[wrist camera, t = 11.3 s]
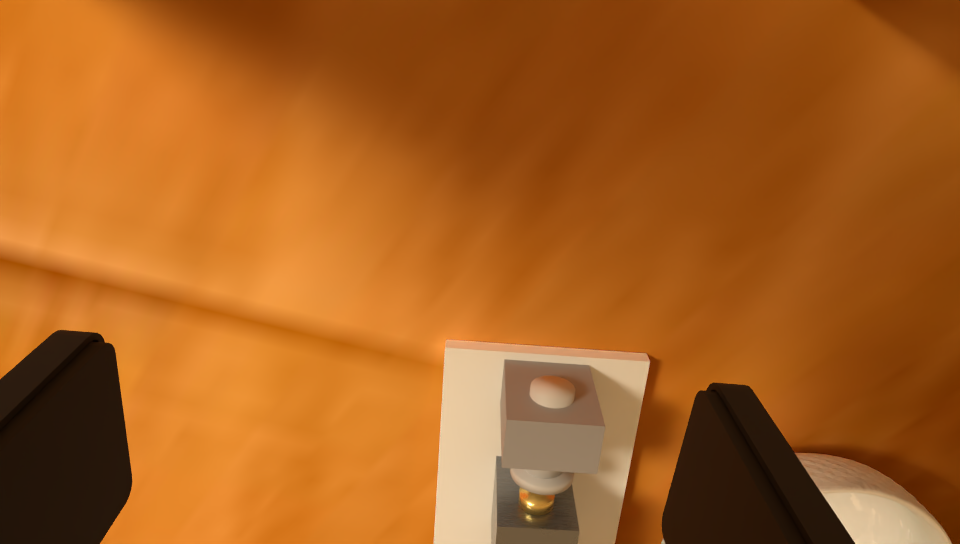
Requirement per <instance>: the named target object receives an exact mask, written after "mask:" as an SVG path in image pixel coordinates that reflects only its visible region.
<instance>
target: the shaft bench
mask: <svg viewBox="0 0 960 544" xmlns="http://www.w3.org/2000/svg"><path fill="white" fill-rule="evenodd" d="M649 366H650V360H649V358H648V355H647V353H635V352H620V351H606V350H591V349H577V348H563V347H548V346H534V345H520V344H505V343H491V342H477V341H462V340H448V339H446V344H445V358H444V375H443V392H442V410H441V427H440V444H439V461H438V479H437V496H436V513H435V530H434V544H491V515H492V502H493V490H494V477H495V465H496V456H501V462H502V468H510V474H511V477H512V479H513V480H514V482H515V483H516V484H517V485H518V486H520V487H521V488H523V489H524V490H526V491H529V492H531V493H535V494H539V495H554V494H559V493H561V492H564V491H565V490H567V489H568V488H569V487H570V486H571V484H572V488H573V494H574V500H575V506H576V512H577V518H578V525H579V531H580V532H579V538H578V544H615V540H616V535H617V530H618V525H619V520H620V515H621V510H622V504H623V499H624V494H625V489H626V484H627V479H628V474H629V468H630V463H631V458H632V453H633V448H634V443H635V438H636V432H637V427H638V422H639V417H640V412H641V407H642V402H643V396H644V391H645V386H646V381H647V376H648V371H649Z"/></svg>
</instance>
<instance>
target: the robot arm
mask: <svg viewBox="0 0 960 544" xmlns="http://www.w3.org/2000/svg"><path fill="white" fill-rule="evenodd" d="M131 487H132V473H131V465H130V458H129V451H128V443H127V436H126V428H125V421H124V413H123V406H122V398H121V391H120V383H119V376H118V368H117V361H116V353H115V349H114V347H113V345H112V344H110V343H105V342H104V339H103V337H102V336H101V335H100V334H98V333H92V332H79V331H67V330H58V331H56V332H54V333H53V334H52V335H51V336H49V337H48V338H47V339H46V340H45V341H44V342H43V343H41V344H40V345H39V346H38V347H37V348H36V349H34V350H33V351H32V352H31V353H30V354H29V355H28V356H26V357H25V358H24V359H23V360H22V361H21V362H20V363H18V364H17V365H16V366H15V367H14V368H13V369H12V370H10V371H9V372H8V373H7V374H6V375H5V376H4V377H2V378H1V379H0V544H100V542H101V541H102V539H103V538H104V536H105V535H106V533H107V532H108V530H109V528H110V527H111V525H112V524H113V522H114V521H115V519H116V518H117V516H118V514H119V513H120V511H121V510H122V508H123V507H124V505H125V504H126V502H127V500H128V497H129V495H130V491H131ZM662 532H663V538H664V541H665V544H855V542H854V541H853V539H852V538H851V536H850V535H849V533H848V532H847V530H846V529H845V527H844V526H843V524H842V523H841V521H840V520H839V518H838V517H837V515H836V514H835V512H834V511H833V509H832V508H831V506H830V505H829V503H828V502H827V500H826V499H825V497H824V496H823V494H822V493H821V492H820V490H819V489H818V487H817V486H816V484H815V483H814V481H813V480H812V478H811V477H810V475H809V474H808V472H807V471H806V469H805V468H804V466H803V465H802V463H801V462H800V460H799V459H798V457H797V456H796V454H795V453H794V451H793V450H792V448H791V447H790V445H789V444H788V442H787V441H786V439H785V438H784V436H783V435H782V434H781V432H780V431H779V429H778V428H777V426H776V425H775V423H774V422H773V420H772V419H771V417H770V416H769V414H768V413H767V411H766V410H765V408H764V407H763V405H762V404H761V402H760V401H759V399H758V398H757V396H756V395H755V393H754V392H753V390H752V389H751V388H750V387H749V386H746V385H737V384H724V383H712V384H710V385H709V387H708V388H707V390H706V391H702V390H701V391H699V392H698V393H697V395H696V397H695V400H694V404H693V407H692V411H691V415H690V418H689V422H688V426H687V429H686V433H685V436H684V440H683V444H682V447H681V451H680V454H679V458H678V462H677V465H676V469H675V473H674V476H673V480H672V483H671V487H670V491H669V494H668V498H667V501H666V505H665V509H664V512H663V517H662Z"/></svg>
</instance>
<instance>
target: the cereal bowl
mask: <svg viewBox="0 0 960 544" xmlns="http://www.w3.org/2000/svg"><path fill="white" fill-rule="evenodd" d="M795 454H796V456H797V457H798V459H799V460H800V462H801V463H802V465H803V466H804V468H805V469H806V471H807V472H808V474H809V475H810V477H811V478H812V480H813V481H814V483H815V484H816V486H817V487H818V489H819V490H820V492H821V493H822V494H823V496H824V497H825V499H826V500H827V502H828V503H829V505H830V506H831V508H832V509H833V511H834V512H835V514H836V515H837V517H838V518H839V520H840V521H841V523H842V524H843V526H844V527H845V529H846V530H847V532H848V533H849V535H850V536H851V538H852V539H853V541H854V542H855V544H952V542H951V540H950V538H949V537H948V535H947V534H946V532H945V530H944V529H943V527H942V526H941V525H940V524H939V523H938V521H937V520H936V519H935V518H934V516H933V515H931V514H930V513H929V512H928V510H927V509H926V508H925V507H924V506H923V505H922V504H920V503H919V502H918V501H917V500H916V498H915V497H914V496H913V495H911V494H910V493H908V492H907V491H906V490H905V489H904V488H903V487H902V486H901V485H899V484H897V483H896V482H894V481H893V480H892V479H891V478H889V477H887V476H885V475H883V474H882V473H881V472H879V471H877V470H875V469H873V468H871V467H869V466H867V465H864V464H861V463H858V462H856V461H854V460H850V459H846V458H842V457H838V456H832V455H827V454H817V453H795ZM661 544H665V541H664V539H663V541H662V542H661Z"/></svg>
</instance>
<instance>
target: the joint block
mask: <svg viewBox="0 0 960 544" xmlns="http://www.w3.org/2000/svg"><path fill="white" fill-rule="evenodd" d="M579 532H580V531H579V525H578V518H577V512H576V506H575V500H574V494H573V488H572V484H571V486H570V487H569V488H568V489H567V490H565V491H564V492H561V493H559V494H554V495H539V494H535V493H531V492H529V491H526V490H524V489H523V488H521V487H520V486H518V485H517V484H516V483H515V482H514V480H513V479H512V477H511V474H510V468H502V462H501V456H496V465H495V477H494V490H493V502H492V515H491V544H578V538H579Z"/></svg>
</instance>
